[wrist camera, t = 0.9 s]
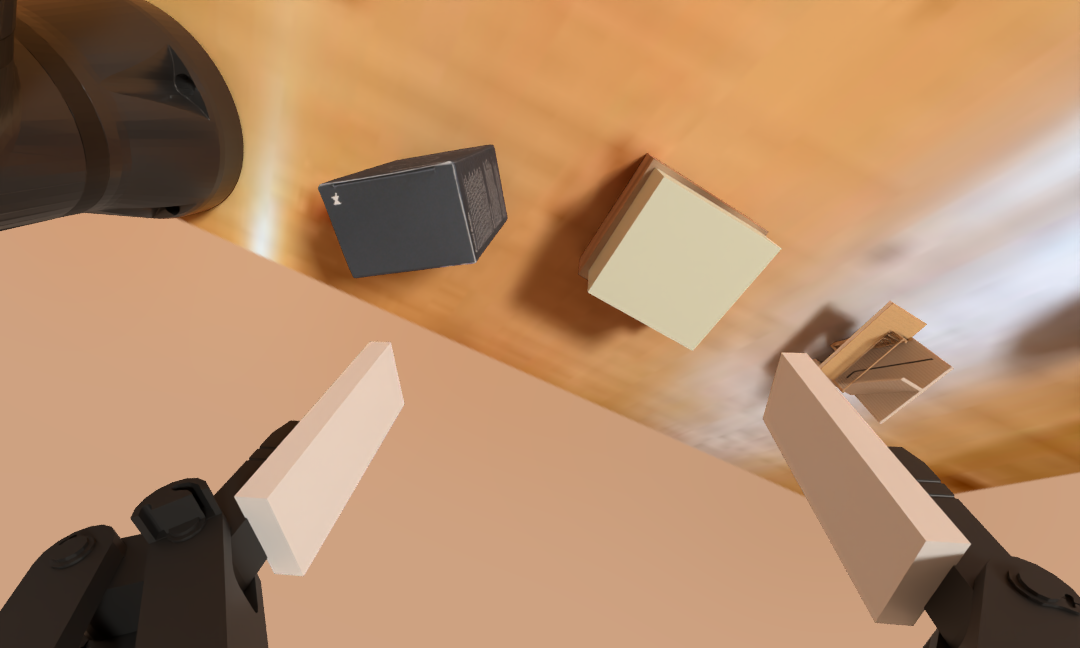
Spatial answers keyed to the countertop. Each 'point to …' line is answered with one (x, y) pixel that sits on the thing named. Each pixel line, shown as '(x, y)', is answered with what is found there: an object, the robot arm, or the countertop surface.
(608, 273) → the tower top
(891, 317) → the architectural model
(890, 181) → the countertop surface
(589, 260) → the tower base
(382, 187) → the box
